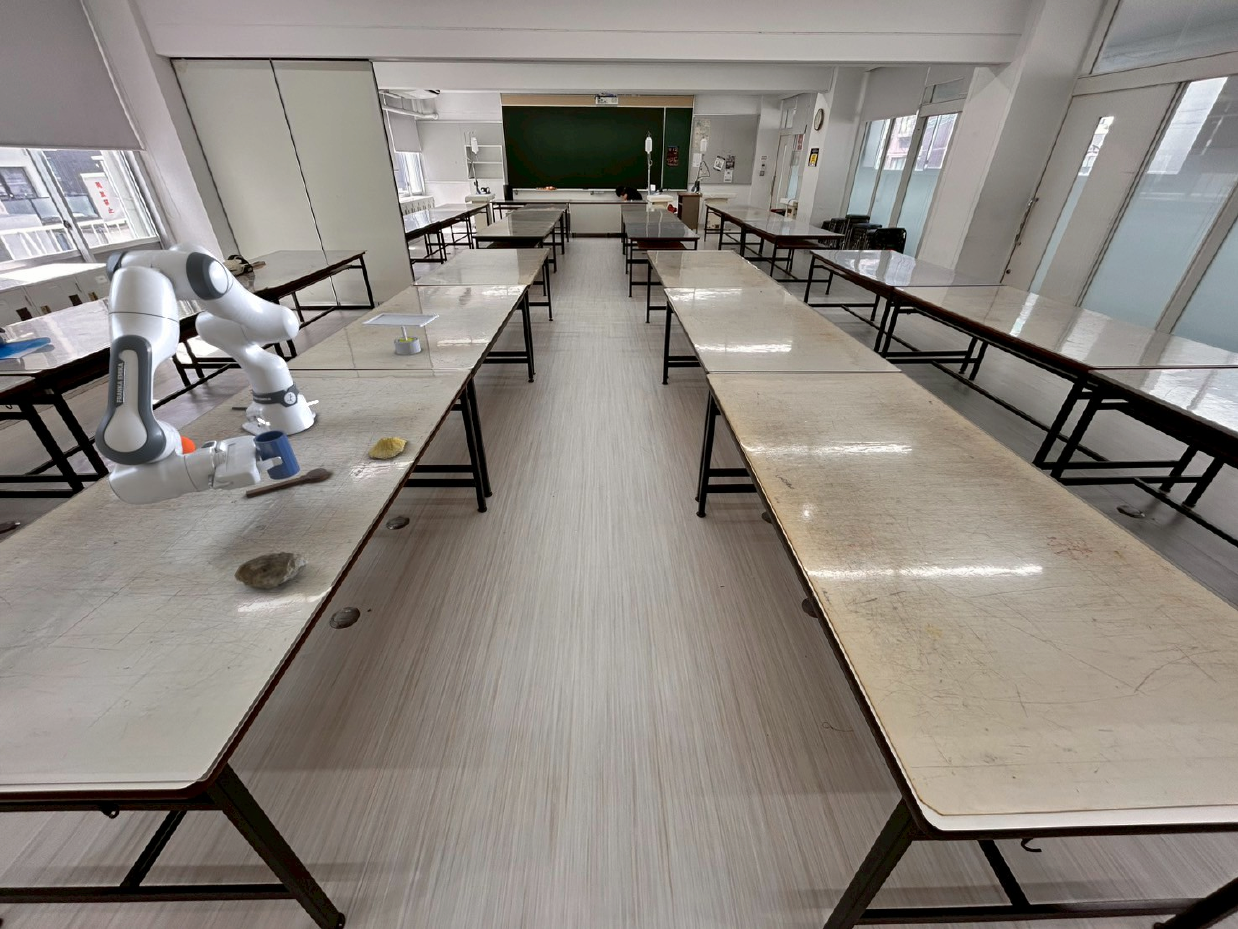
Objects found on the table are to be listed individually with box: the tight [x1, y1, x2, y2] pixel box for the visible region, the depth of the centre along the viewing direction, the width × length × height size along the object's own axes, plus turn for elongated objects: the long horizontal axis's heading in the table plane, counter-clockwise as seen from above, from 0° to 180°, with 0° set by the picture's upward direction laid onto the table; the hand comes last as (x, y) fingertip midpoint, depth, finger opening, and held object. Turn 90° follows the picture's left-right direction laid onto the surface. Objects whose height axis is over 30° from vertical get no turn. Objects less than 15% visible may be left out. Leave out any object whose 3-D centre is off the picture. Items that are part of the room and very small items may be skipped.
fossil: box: [368, 436, 407, 460], centre depth 148 cm, size 11×6×10 cm
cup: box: [253, 430, 301, 481], centre depth 117 cm, size 6×6×10 cm
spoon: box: [245, 467, 329, 498], centre depth 134 cm, size 19×5×2 cm, turn 122°
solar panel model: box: [360, 312, 440, 356], centre depth 224 cm, size 28×17×15 cm, turn 82°
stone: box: [233, 551, 309, 590], centre depth 102 cm, size 13×8×8 cm
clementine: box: [180, 435, 196, 454], centre depth 145 cm, size 8×7×7 cm
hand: (280, 452), depth 118 cm, fingers closed on cup, 6 cm apart
